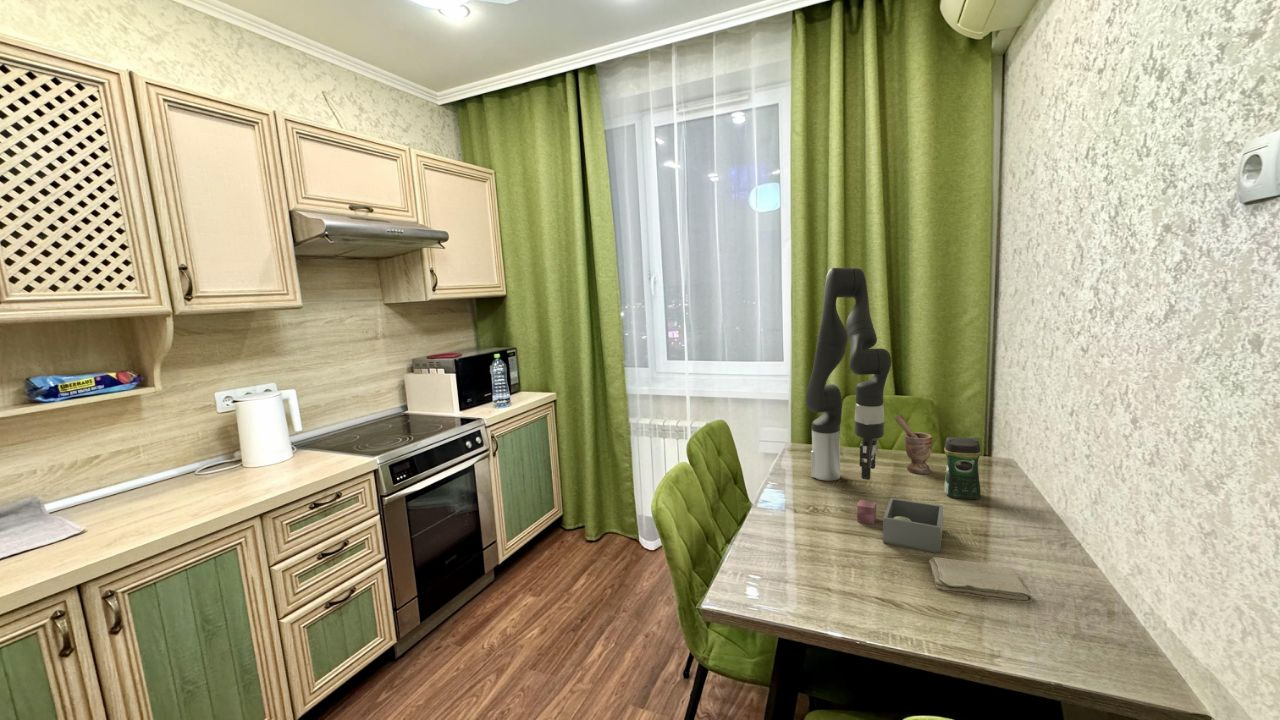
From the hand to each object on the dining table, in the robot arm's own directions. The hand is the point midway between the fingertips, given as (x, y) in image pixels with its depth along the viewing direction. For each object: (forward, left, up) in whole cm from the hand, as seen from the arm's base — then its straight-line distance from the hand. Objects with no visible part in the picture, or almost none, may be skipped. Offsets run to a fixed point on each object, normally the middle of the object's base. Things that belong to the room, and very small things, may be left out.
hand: (868, 473), depth 146 cm
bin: (+12, -5, -14) cm, 19 cm away
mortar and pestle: (+7, +46, -15) cm, 49 cm away
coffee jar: (+22, +29, -15) cm, 40 cm away
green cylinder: (+9, -8, -14) cm, 18 cm away
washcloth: (+26, -21, -15) cm, 37 cm away
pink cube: (-1, 0, -15) cm, 15 cm away
